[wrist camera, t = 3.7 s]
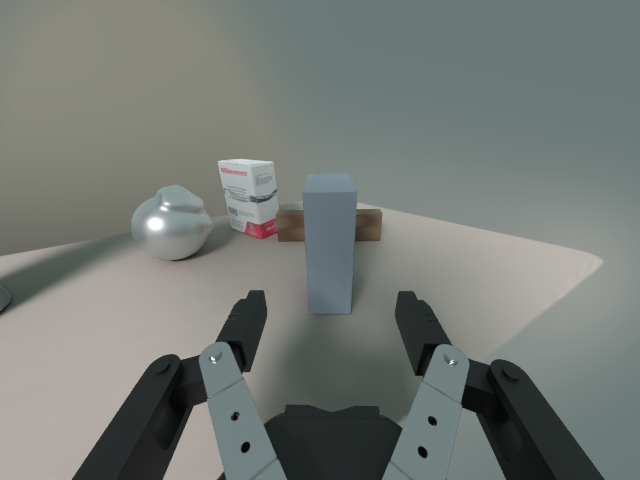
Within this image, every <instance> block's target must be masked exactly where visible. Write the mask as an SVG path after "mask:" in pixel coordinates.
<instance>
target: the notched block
mask: <svg viewBox="0 0 640 480" xmlns="http://www.w3.org/2000/svg"><path fill="white" fill-rule="evenodd" d="M356 205H357V191H356V189H355V186H354V184H353V182H352V180H351V178H350V175H349V174H309V176H308V179H307V182H306V185H305V187H304V190H303V209H304V227H305V244H306V261H307V278H308V296H309V313H310V314H351V298H352V280H353V261H354V242H355V224H356Z"/></svg>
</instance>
